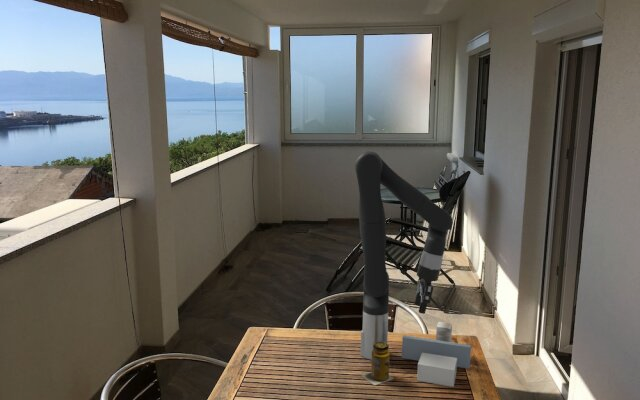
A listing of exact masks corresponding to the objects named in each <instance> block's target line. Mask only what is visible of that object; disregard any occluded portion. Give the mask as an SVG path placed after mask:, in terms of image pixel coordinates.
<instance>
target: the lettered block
mask: <svg viewBox="0 0 640 400" xmlns="http://www.w3.org/2000/svg"><path fill="white" fill-rule="evenodd" d="M452 331H453V323H451V322H444V321H438V322H437V325H436V332H435V340H439V341H446V342H452V335H453V333H452Z"/></svg>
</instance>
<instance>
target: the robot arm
mask: <svg viewBox="0 0 640 400" xmlns="http://www.w3.org/2000/svg"><path fill="white" fill-rule="evenodd" d="M354 168H355V175H356V181H357V186H358V193H359V201H358V203H359V204H358V219H359V220H358V221H359V233H360V241H361V247H362V248H361V249H362V252H363V253H362V255H363V260H364V261H363V262H364V269H363V270H364V271H363V283H362V285H363V295H362V296H363V297H362V299H363V300H362V330H361V332H360V357H364V358H365V359H367V360H371V361H372V351H373V344H374V343H375V342H386V343H387V344H388V335H389V334H388V333H389V332H388V331H389V330H388V329H389V307H390V306H389V303H390V301H389V297H390V296H389V292H390V275H389V272H388V270H387V265H386V249H387V248H386V247H387V245H386V244H387V224H386V223H387V222H386V214H385V208H384V203H383V198H382V195H381V185H382V186H383V187H384V188H386V189H387V190H388V191H389V193H391V194H393V196H394V197H395V199H398V201H400V202H401V203H402V204H403V205H404V206H405V207H407V208H408V209H410V211H412V212H413V213H414V214H416V215H417V216H419V217H420V218H422V219H423V220H424V221H425V222H427V224H428V227H427V234H426V239H425V242H424V247H423V250H422V253H421V256H420V259H419V262H418V268H417V271H416V276H417V277H418V279H417V283H416V287H415V299H414V305H415V306H418V307H419V308H418V312H419V314H423V315H424V314H426V310H427V307H428V305H429V304H431V301H432V295H433V291H434V286H433V285H432V282H437V281H439V276H440V272H441V268H442V264H443V257H444V254H445V249H446V242H447V241H446V237H447V233H448V231H449V230H450V229H451V228H452V225H453V217H452V216H451V214H450V213H449V212H448V211H447V210H445V209H444V208H442V207H440V206H439V205H437V204H436V203H435V202H433V201H432V199H430V198H429V197H428V196H427V195H426V194H424V193H423V192H422V191H420V190H419V189H418V188H417V187H415V186H414V185H412V184H410V182H408V181H406V179H404V178H402V177H401V176H400V175H399V174H397V173H396V172H395V171H394V170H393V169H392V168H391V167H390V166H389V165H388V164H387V163H386V162H385V161H384V160H383V158H381V156H380V155H379V154H378V153H377V152H374V151H365V152H362V153H361V154H360V155H359V156H358V157H357V158H356V160H355V164H354Z"/></svg>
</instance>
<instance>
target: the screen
mask: <svg viewBox="0 0 640 400" xmlns="http://www.w3.org/2000/svg"><path fill="white" fill-rule="evenodd" d="M401 340H402V341H401V342H402V343H401V348H402V349H401V359H406V360H414V361H418V362H419V360H420V357H421V354H422V353H428V354H434V355H441V356H447V357H454V358H457V368H463V369H470V367H471V353H472V345H471V344H464V343H460V342H459V343H458V342H452V341H451V342H446V341H439V340H436V339H431V338H423V337H418V336H411V335H406V334H404V335H403V336H402V339H401Z"/></svg>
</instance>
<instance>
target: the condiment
mask: <svg viewBox="0 0 640 400" xmlns="http://www.w3.org/2000/svg"><path fill="white" fill-rule="evenodd" d="M389 349H390V348H389V344H388V342H387V343H386V342H375V343H374V344H373V351H372V360H371V364H370V365H371V368H370V369H371V371H370V372H368V373H366V374H363V375H362V374H361V377H362V378H363V379H364V380H366V381H367V382H369V383H371V384H372V385H374V386H378V385H380V384H383V383H386V382H389V381H392V380H394V379H395V378H394V377H393V376H391V375H390V356H391V355H390V350H389Z"/></svg>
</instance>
